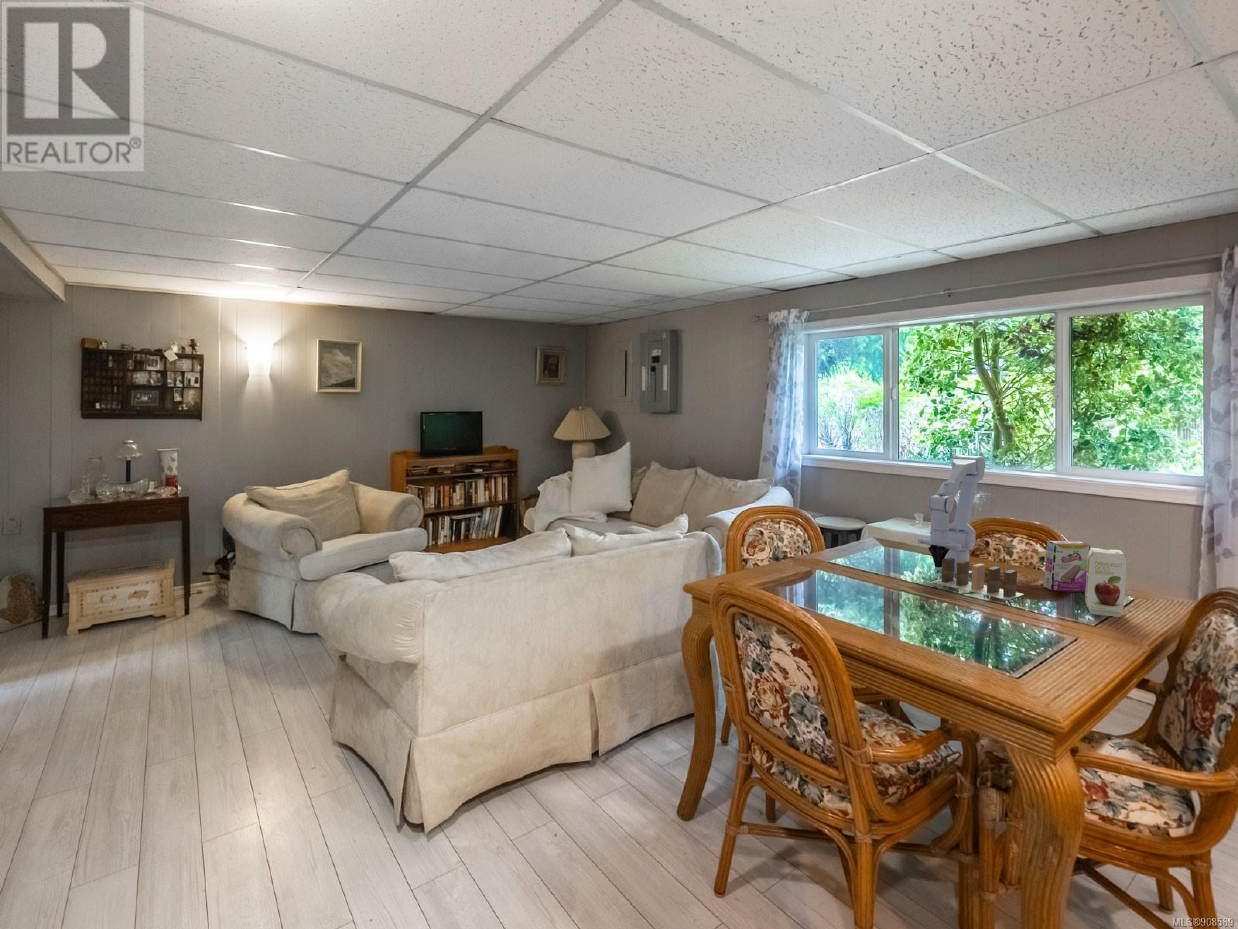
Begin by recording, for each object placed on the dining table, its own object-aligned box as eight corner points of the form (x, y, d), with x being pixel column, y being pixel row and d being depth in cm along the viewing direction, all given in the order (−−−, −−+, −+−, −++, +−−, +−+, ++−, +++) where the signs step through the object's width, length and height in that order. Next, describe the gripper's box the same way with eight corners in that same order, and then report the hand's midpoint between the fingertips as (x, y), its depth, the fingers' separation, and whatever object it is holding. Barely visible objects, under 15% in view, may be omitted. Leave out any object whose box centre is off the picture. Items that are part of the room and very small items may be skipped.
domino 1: (941, 581, 211) (942, 559, 210) (949, 579, 213) (950, 557, 213) (946, 583, 209) (947, 560, 209) (953, 580, 212) (954, 558, 211)
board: (930, 583, 211) (930, 581, 211) (947, 578, 217) (947, 576, 217) (1007, 601, 190) (1008, 600, 190) (1024, 595, 196) (1024, 594, 196)
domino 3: (971, 588, 202) (972, 565, 202) (978, 586, 205) (979, 563, 204) (976, 590, 201) (977, 566, 200) (983, 587, 204) (984, 564, 203)
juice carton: (1083, 607, 184) (1086, 546, 182) (1119, 611, 180) (1123, 549, 178) (1087, 614, 178) (1091, 551, 176) (1124, 619, 173) (1129, 554, 172)
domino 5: (1003, 596, 194) (1004, 572, 193) (1010, 593, 197) (1011, 569, 196) (1008, 597, 193) (1009, 573, 192) (1015, 594, 195) (1017, 570, 195)
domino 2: (956, 585, 206) (956, 562, 206) (963, 582, 209) (964, 560, 208) (960, 586, 205) (961, 563, 204) (968, 584, 208) (969, 561, 207)
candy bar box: (1052, 592, 199) (1054, 543, 198) (1043, 587, 204) (1045, 540, 203) (1088, 592, 198) (1091, 544, 197) (1078, 588, 203) (1081, 540, 202)
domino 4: (986, 592, 198) (987, 568, 197) (994, 589, 201) (995, 566, 200) (991, 593, 197) (993, 569, 196) (999, 591, 199) (1000, 567, 199)
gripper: (913, 527, 217) (912, 564, 218) (954, 534, 204) (952, 573, 206) (924, 525, 220) (923, 561, 222) (965, 531, 208) (963, 569, 209)
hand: (938, 566), depth 214 cm, fingers closed
